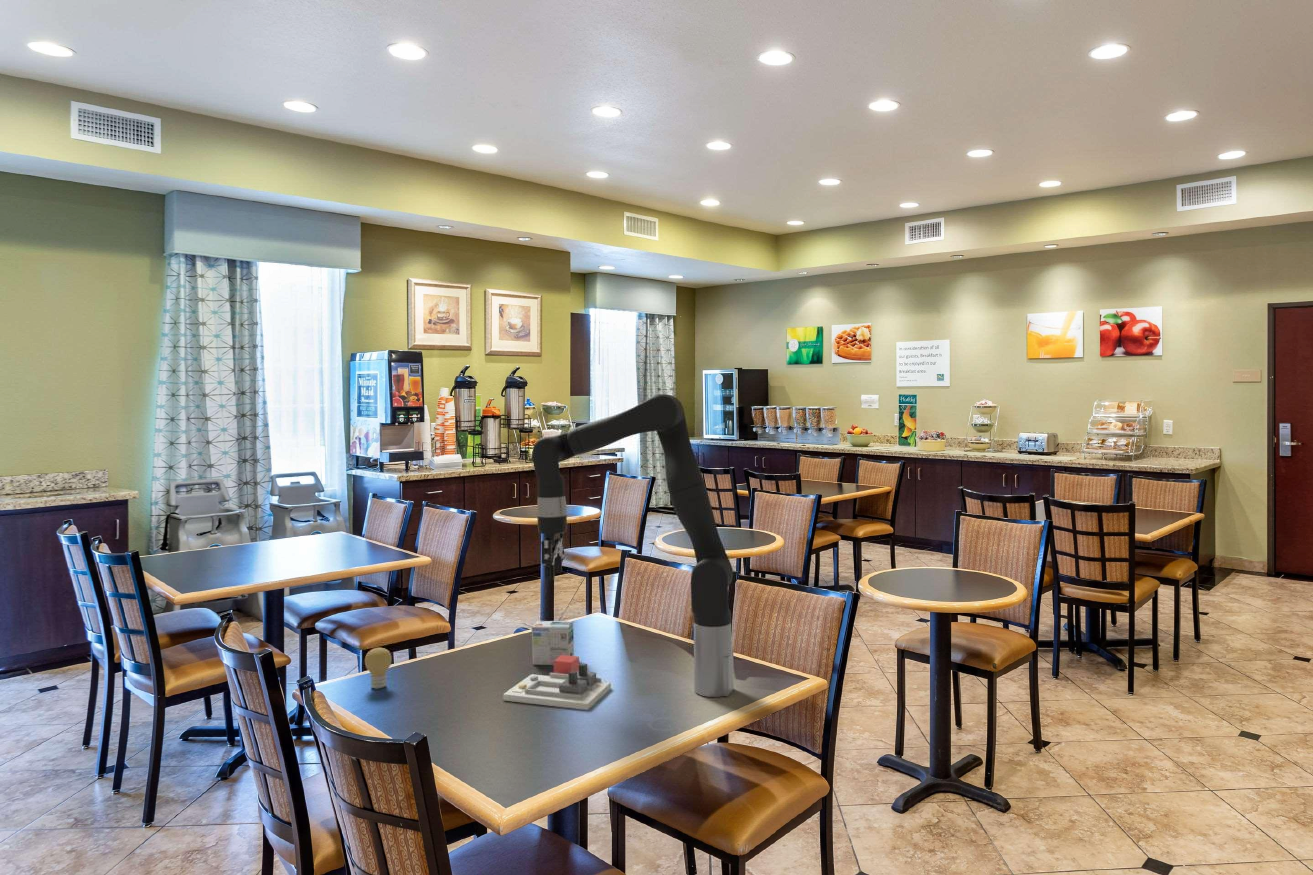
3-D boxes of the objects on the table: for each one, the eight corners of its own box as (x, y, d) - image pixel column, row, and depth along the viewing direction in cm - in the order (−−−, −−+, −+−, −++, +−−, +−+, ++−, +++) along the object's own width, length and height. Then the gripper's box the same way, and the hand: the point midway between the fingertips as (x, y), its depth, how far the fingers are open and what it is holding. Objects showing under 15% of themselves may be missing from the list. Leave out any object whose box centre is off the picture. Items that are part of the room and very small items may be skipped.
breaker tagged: (586, 690, 196) (586, 669, 196) (578, 697, 191) (578, 676, 191) (567, 688, 198) (567, 667, 197) (559, 695, 193) (558, 674, 193)
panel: (610, 688, 202) (610, 662, 202) (587, 709, 188) (587, 681, 187) (531, 679, 209) (531, 654, 208) (503, 700, 194) (502, 673, 194)
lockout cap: (579, 675, 212) (579, 656, 212) (571, 681, 207) (571, 662, 207) (561, 673, 213) (561, 654, 213) (553, 679, 209) (553, 660, 208)
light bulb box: (574, 658, 226) (574, 620, 226) (569, 666, 220) (569, 626, 219) (537, 657, 227) (536, 619, 227) (531, 665, 221) (530, 626, 220)
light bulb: (360, 688, 203) (359, 649, 203) (379, 681, 209) (378, 643, 208) (378, 693, 200) (377, 653, 200) (397, 684, 206) (396, 646, 205)
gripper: (559, 517, 200) (561, 582, 201) (572, 510, 215) (574, 570, 215) (530, 517, 201) (532, 582, 202) (544, 510, 215) (546, 570, 216)
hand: (553, 576), depth 208 cm, fingers open, 8 cm apart
